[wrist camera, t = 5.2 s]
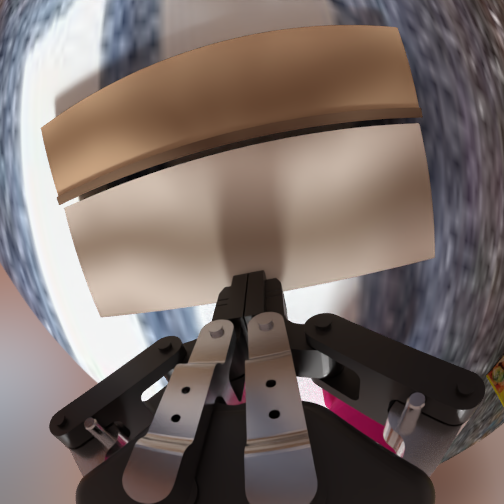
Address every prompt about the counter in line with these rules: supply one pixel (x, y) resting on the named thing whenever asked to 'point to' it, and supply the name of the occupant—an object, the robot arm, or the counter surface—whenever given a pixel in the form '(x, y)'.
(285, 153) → the ash plank
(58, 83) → the counter surface
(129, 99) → the oak plank
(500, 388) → the food package
